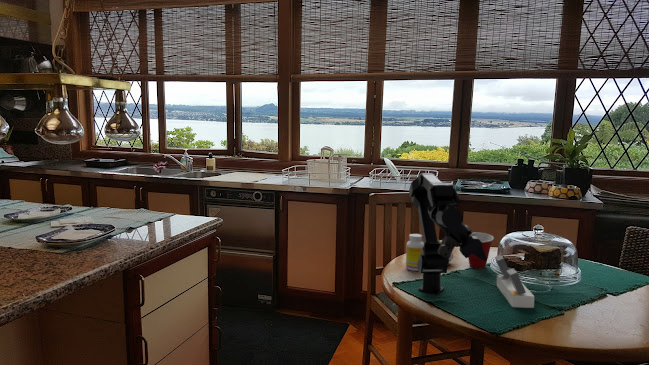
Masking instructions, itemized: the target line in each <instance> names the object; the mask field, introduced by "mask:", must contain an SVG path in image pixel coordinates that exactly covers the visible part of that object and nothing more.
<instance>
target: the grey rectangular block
mask: <svg viewBox="0 0 649 365" xmlns="http://www.w3.org/2000/svg"><path fill="white" fill-rule="evenodd" d="M508 269H509V270H507V273H508V275H509V277H510V280H511V282H512V284H513V286H514V288H515V290H516V292H517V293H518V294H519V295H521V294H524V293H526V291H525V289H524V287H523V285H522V283H523V282H522V280H521V279H520V276H519V274H518V271H516V270H515V269H514V267H513V268H508ZM521 282H522V283H521Z"/></svg>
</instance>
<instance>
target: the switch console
mask: <svg viewBox="0 0 649 365" xmlns="http://www.w3.org/2000/svg"><path fill="white" fill-rule="evenodd" d="M521 283H522V285H523V287H524V289H525V291H526V293H524V294H521V295H519V294H518V293H517V292H516V290H515V288H514V286H513V284H512V282H511V280H510V278H508V279H506V278H505V277H504V276H503V275H502V274H497V275H496V287H497V288H498V289H499V292H501V293H502V295H503V296H504V298H505V299H506V301H508V303H509V305H510V306H511V307H512V308H525V309H526V308H527V309H529V308H530V309H534V308H535V295H534V294H533V293H532V291H530V290H529V289H528V288H527V287H526V285H525V284H524V283H523V282H522V281H521Z"/></svg>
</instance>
